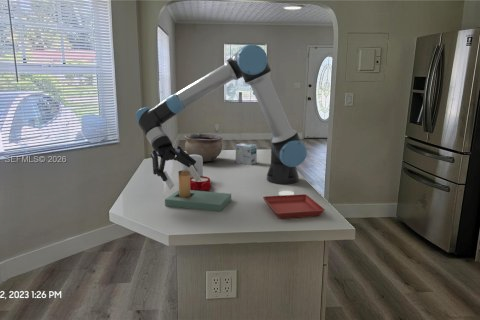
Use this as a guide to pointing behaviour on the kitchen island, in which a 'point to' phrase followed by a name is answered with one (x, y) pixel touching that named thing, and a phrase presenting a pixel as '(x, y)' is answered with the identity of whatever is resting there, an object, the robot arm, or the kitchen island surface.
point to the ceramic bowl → (204, 145)
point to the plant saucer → (293, 206)
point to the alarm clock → (200, 184)
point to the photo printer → (196, 165)
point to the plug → (184, 184)
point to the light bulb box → (246, 153)
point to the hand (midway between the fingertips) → (185, 183)
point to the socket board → (200, 200)
